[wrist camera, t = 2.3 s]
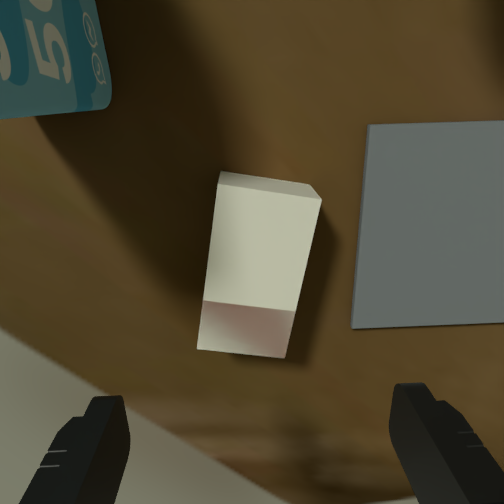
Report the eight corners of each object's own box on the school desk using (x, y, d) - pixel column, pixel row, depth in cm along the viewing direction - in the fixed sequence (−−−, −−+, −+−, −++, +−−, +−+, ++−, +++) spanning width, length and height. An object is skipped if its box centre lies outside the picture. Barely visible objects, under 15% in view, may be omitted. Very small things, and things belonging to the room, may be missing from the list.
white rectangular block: (220, 169, 20) (217, 184, 17) (308, 183, 20) (321, 199, 17) (202, 314, 23) (196, 348, 20) (278, 323, 24) (284, 358, 21)
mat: (367, 124, 19) (370, 125, 19) (637, 116, 19) (645, 116, 19) (350, 325, 24) (352, 328, 23) (568, 315, 24) (573, 319, 24)
